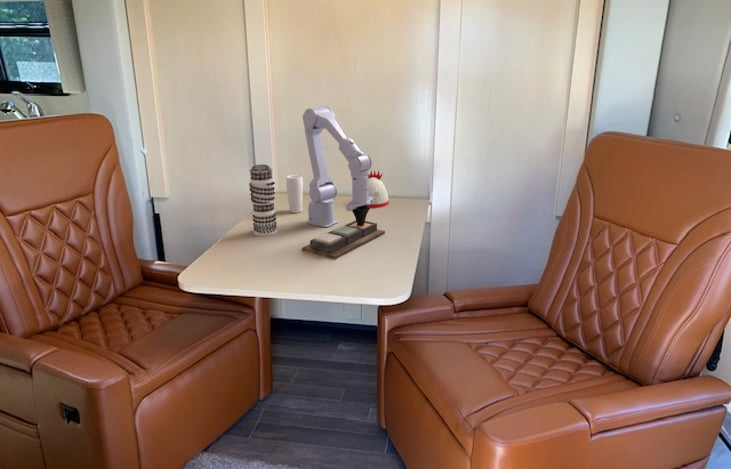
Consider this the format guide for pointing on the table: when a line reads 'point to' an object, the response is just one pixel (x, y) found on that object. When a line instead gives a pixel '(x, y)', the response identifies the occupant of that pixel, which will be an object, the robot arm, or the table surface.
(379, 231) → the key board
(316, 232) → the table surface
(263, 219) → the white and black cylinder
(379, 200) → the knitted chicken hat
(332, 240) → the off-white key
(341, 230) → the sage key
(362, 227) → the terracotta key
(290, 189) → the drinking glass
